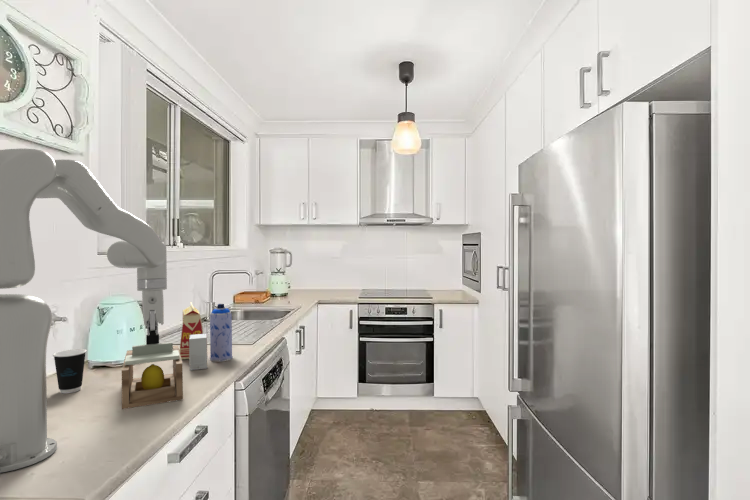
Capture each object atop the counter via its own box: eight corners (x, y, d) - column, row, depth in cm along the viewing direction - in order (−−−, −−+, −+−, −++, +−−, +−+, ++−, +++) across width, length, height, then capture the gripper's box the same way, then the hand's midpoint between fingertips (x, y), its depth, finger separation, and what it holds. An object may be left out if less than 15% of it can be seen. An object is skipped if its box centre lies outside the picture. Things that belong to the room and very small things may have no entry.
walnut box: (182, 399, 114) (182, 363, 114) (122, 409, 108) (121, 370, 108) (178, 375, 135) (178, 345, 135) (127, 382, 129) (127, 350, 129)
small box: (207, 368, 143) (207, 337, 143) (189, 370, 141) (188, 339, 141) (207, 363, 151) (207, 333, 151) (189, 364, 149) (189, 334, 149)
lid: (179, 359, 117) (179, 346, 117) (124, 365, 111) (124, 352, 111) (178, 353, 124) (178, 341, 124) (126, 359, 118) (126, 346, 118)
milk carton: (178, 355, 162) (177, 302, 162) (204, 352, 166) (203, 300, 166) (178, 360, 154) (177, 305, 154) (205, 357, 158) (205, 303, 158)
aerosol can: (237, 356, 159) (236, 303, 159) (222, 362, 151) (222, 305, 151) (219, 355, 161) (219, 302, 161) (205, 360, 154) (204, 305, 154)
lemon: (153, 397, 113) (152, 367, 113) (136, 395, 114) (136, 366, 114) (169, 391, 118) (168, 362, 118) (152, 389, 120) (152, 360, 120)
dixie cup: (77, 384, 128) (77, 347, 128) (93, 388, 124) (92, 350, 124) (47, 392, 121) (46, 353, 121) (62, 396, 117) (62, 356, 117)
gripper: (167, 286, 117) (168, 352, 117) (166, 282, 131) (166, 342, 131) (136, 287, 114) (137, 356, 114) (137, 283, 127) (138, 345, 127)
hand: (152, 348), depth 122 cm, fingers closed
